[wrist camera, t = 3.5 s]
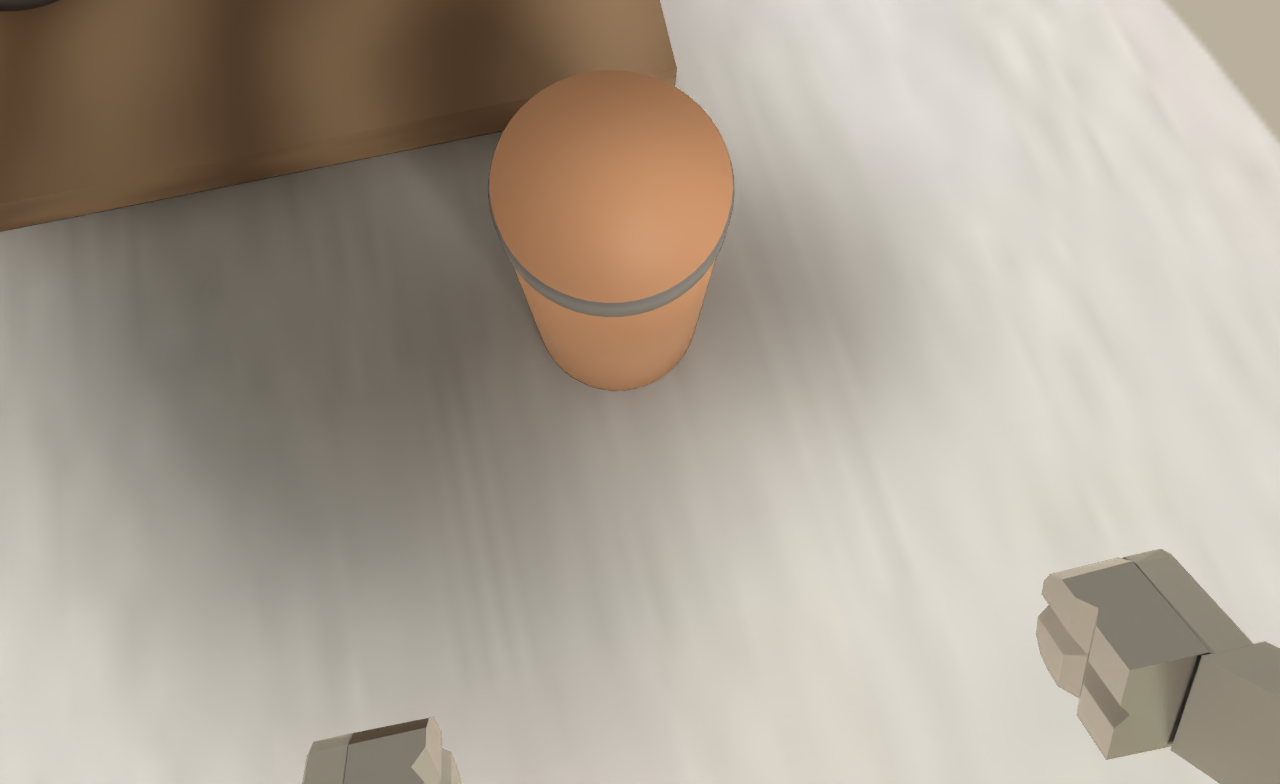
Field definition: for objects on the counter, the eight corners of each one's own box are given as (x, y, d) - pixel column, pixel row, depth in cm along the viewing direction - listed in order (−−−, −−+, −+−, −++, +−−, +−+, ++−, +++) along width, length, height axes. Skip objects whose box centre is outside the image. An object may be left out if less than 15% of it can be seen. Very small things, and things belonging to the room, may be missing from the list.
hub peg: (554, 407, 25) (512, 326, 16) (522, 253, 25) (465, 93, 17) (714, 373, 25) (761, 273, 16) (678, 221, 26) (703, 46, 17)
